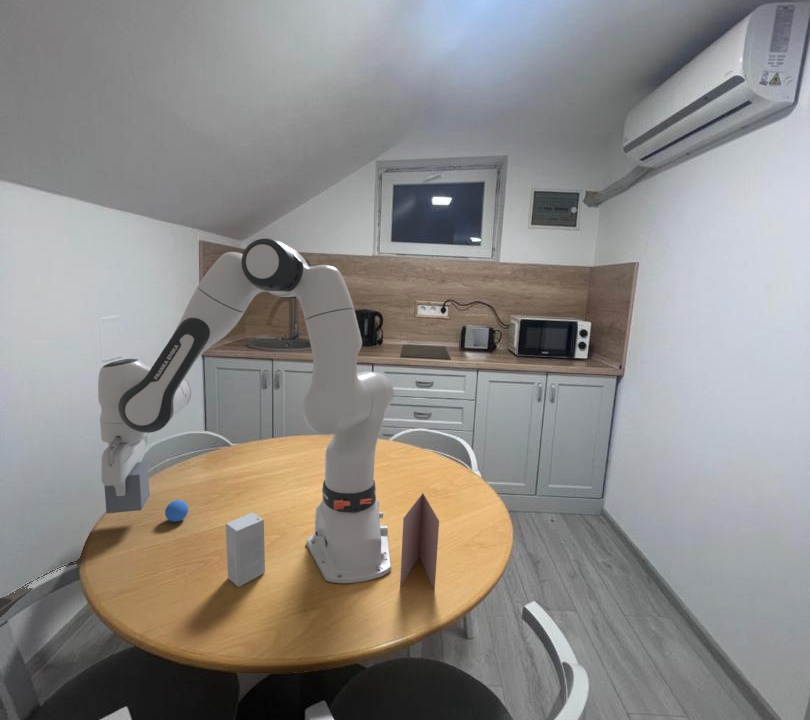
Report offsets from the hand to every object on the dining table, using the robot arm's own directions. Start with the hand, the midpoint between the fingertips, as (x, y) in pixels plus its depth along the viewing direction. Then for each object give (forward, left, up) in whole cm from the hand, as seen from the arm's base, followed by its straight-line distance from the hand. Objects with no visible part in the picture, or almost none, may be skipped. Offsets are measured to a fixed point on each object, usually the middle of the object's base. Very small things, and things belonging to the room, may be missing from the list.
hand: (127, 485), depth 101 cm
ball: (0, -10, -7) cm, 12 cm away
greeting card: (-33, -62, -10) cm, 71 cm away
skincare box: (-25, -27, -10) cm, 38 cm away
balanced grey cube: (0, 0, -5) cm, 5 cm away
